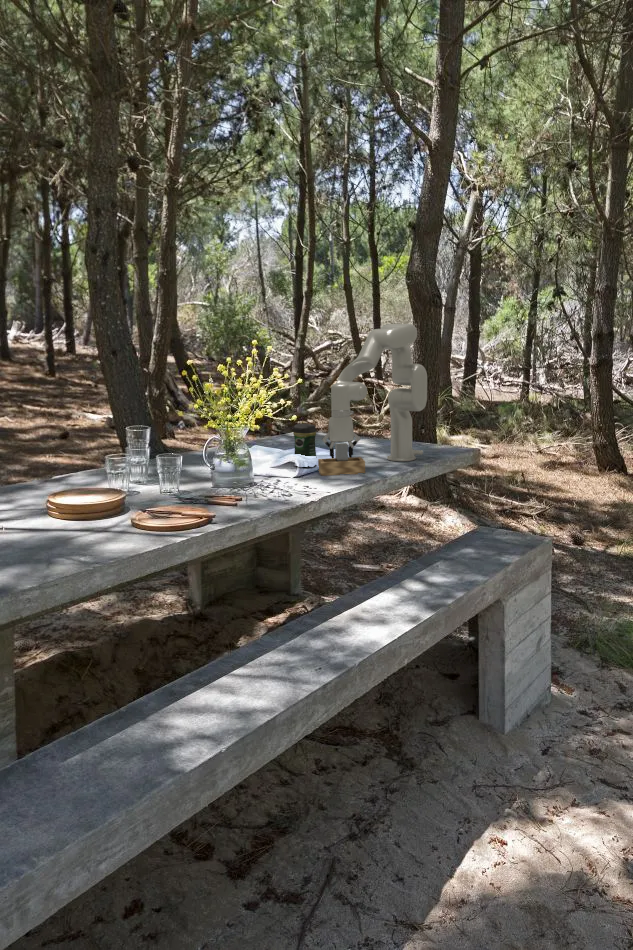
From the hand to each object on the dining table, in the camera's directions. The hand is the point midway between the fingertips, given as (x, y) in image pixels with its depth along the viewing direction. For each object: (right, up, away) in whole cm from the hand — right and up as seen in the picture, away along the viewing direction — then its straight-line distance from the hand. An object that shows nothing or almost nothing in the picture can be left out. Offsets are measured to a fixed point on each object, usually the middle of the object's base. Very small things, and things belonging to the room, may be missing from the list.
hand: (341, 457), depth 334 cm
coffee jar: (-15, -4, +16) cm, 22 cm away
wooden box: (0, -6, +1) cm, 6 cm away
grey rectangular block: (0, -6, +1) cm, 6 cm away
